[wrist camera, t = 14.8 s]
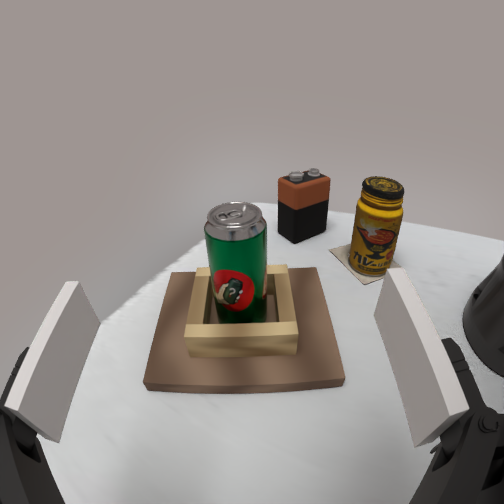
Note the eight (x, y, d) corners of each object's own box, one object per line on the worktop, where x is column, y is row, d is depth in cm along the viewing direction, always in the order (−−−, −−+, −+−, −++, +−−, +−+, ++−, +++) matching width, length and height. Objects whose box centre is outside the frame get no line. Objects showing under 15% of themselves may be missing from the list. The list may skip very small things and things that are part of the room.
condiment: (364, 285, 36) (382, 198, 30) (328, 250, 43) (337, 171, 36) (403, 270, 39) (423, 190, 32) (366, 239, 45) (378, 166, 38)
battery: (276, 232, 47) (276, 171, 42) (308, 220, 50) (312, 163, 45) (294, 245, 44) (296, 180, 39) (327, 231, 47) (332, 171, 42)
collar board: (314, 276, 38) (318, 247, 36) (342, 386, 25) (352, 358, 23) (173, 281, 38) (167, 252, 36) (147, 390, 25) (132, 363, 23)
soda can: (275, 326, 30) (278, 219, 23) (228, 344, 28) (214, 236, 21) (254, 295, 34) (250, 195, 27) (211, 309, 32) (195, 207, 25)
